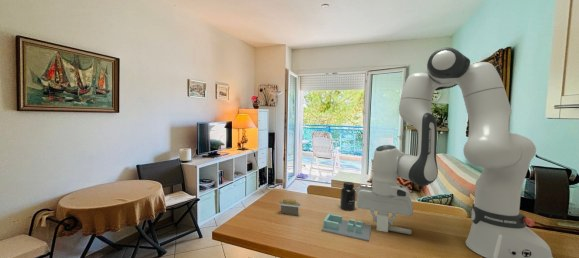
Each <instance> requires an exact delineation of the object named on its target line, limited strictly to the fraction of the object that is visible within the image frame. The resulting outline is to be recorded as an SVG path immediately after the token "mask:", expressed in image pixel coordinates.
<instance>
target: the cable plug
mask: <svg viewBox="0 0 579 258" xmlns="http://www.w3.org/2000/svg"><path fill="white" fill-rule="evenodd" d="M389 214H390V213H386V212H380V211H377V214H376V216H377V222H376V231H379V232H385V233H388V232H389V231H391V232H395V233H401V234H404V235H409V236H411V235H412V229H409V228H404V227H400V226H394V225H390V224H388V218H390V217H389Z"/></svg>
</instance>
